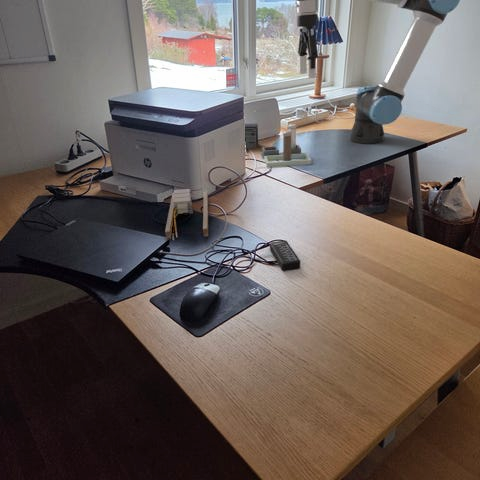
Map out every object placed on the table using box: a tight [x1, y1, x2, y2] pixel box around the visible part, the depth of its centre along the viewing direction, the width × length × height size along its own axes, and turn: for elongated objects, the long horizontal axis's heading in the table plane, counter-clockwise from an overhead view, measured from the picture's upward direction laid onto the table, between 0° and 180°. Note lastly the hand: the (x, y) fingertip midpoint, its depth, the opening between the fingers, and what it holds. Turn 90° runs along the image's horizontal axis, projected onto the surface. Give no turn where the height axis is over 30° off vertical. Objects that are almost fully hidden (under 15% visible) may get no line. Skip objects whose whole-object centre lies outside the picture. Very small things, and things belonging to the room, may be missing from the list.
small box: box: [244, 123, 259, 149], centre depth 185 cm, size 11×6×10 cm, turn 84°
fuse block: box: [261, 144, 302, 160], centre depth 173 cm, size 16×7×4 cm, turn 94°
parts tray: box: [263, 152, 313, 168], centre depth 165 cm, size 17×9×2 cm, turn 94°
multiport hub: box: [269, 239, 301, 272], centre depth 103 cm, size 4×11×2 cm, turn 13°
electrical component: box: [171, 188, 194, 241], centre depth 124 cm, size 24×6×5 cm, turn 6°
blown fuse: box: [282, 130, 292, 161], centre depth 163 cm, size 3×3×12 cm
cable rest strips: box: [164, 190, 209, 240], centre depth 127 cm, size 11×28×2 cm, turn 4°
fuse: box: [287, 123, 298, 149], centre depth 171 cm, size 3×3×12 cm
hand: (307, 75), depth 164 cm, fingers open, 13 cm apart
